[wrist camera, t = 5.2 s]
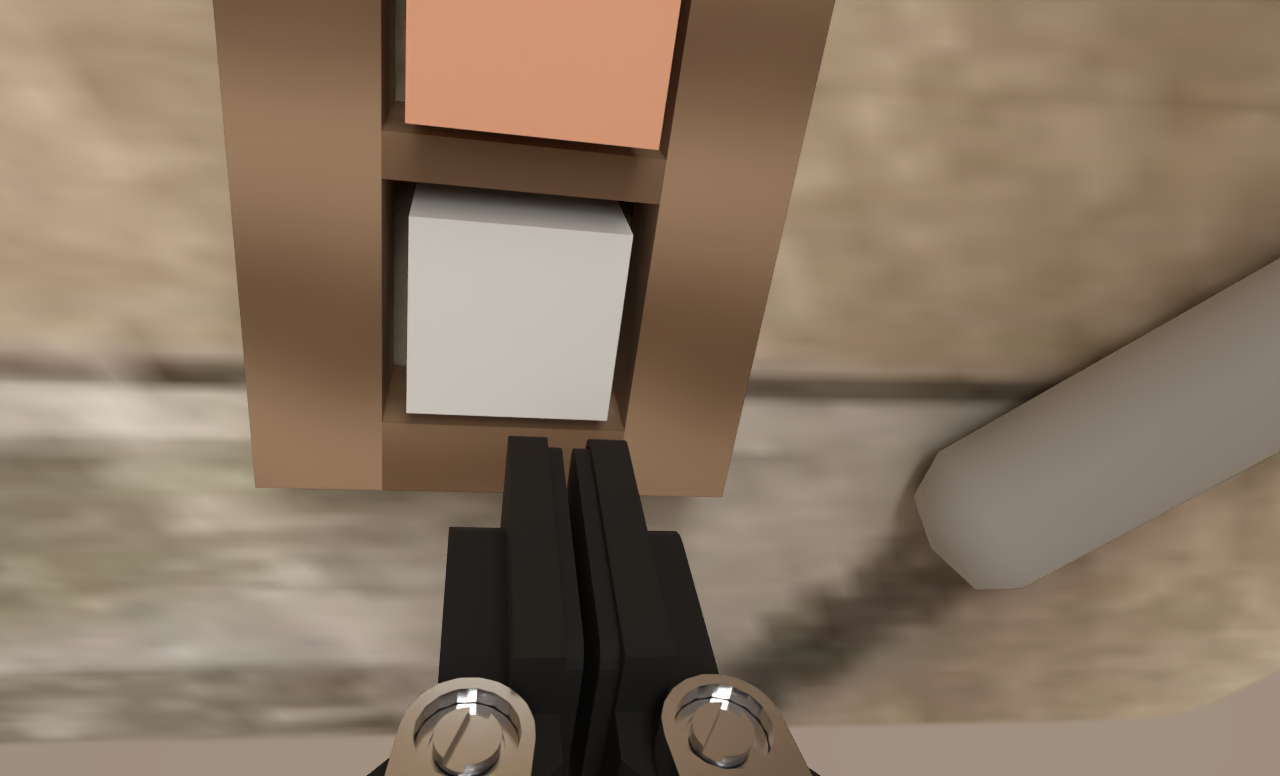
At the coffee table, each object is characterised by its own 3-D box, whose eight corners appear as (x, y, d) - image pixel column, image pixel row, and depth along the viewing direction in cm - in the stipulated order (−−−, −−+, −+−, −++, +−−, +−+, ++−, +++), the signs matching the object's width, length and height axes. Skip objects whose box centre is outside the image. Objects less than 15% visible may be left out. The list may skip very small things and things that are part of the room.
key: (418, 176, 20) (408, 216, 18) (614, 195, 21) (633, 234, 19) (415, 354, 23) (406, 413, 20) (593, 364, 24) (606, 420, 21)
